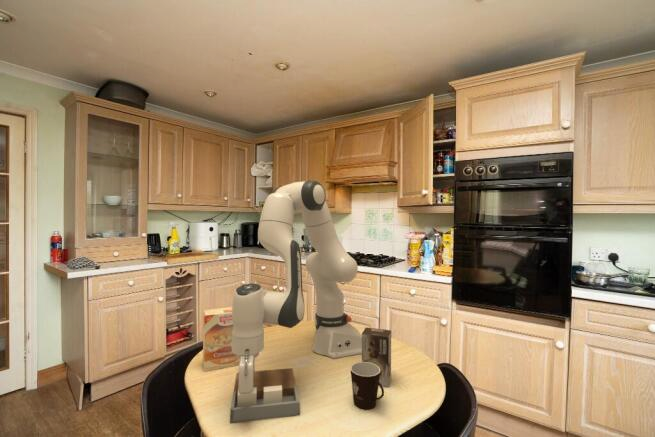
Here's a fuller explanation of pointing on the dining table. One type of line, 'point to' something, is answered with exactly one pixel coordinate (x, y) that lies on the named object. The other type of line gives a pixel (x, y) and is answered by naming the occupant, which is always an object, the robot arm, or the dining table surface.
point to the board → (271, 381)
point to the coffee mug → (365, 384)
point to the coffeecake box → (218, 339)
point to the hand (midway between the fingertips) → (247, 391)
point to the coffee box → (378, 351)
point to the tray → (265, 409)
